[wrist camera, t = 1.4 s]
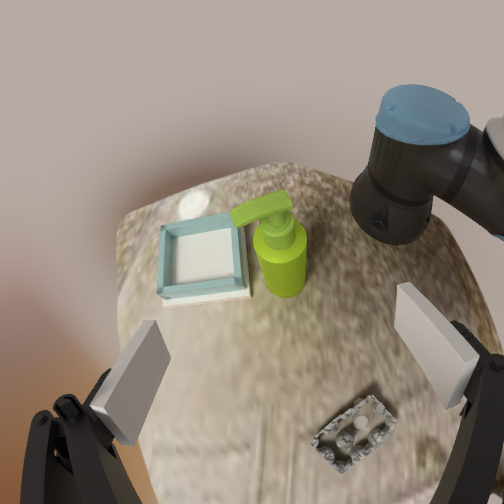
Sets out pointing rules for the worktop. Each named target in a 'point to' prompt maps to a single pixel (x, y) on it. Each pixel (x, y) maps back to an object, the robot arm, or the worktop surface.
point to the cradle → (202, 262)
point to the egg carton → (346, 439)
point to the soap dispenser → (276, 241)
